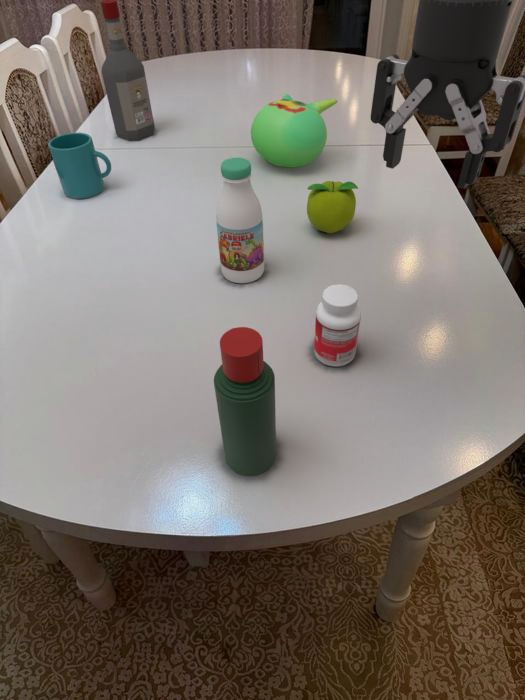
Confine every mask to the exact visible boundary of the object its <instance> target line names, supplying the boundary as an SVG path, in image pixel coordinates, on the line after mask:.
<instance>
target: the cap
mask: <svg viewBox="0 0 525 700" xmlns="http://www.w3.org/2000/svg"><path fill="white" fill-rule="evenodd" d="M219 349H220V356H221V357H220V358H221V365H222V366H223V372H224V374H225V375H226V376H227V377H228V378H229V379H230V380H232V381H235V382H249V381H252V380H254V379H256V378H257V377H259V376H260V375H261V373H262V371H263V368H264V364H263V361H264V343H263V337H262V335H261V334H260V332H259V331H258V330H256V329H254V328H251V327H248V326H238V327H233V328H231V329H229V330H226V331H225V332H224V333H223V334H222V336H221V337H220V339H219Z"/></svg>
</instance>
